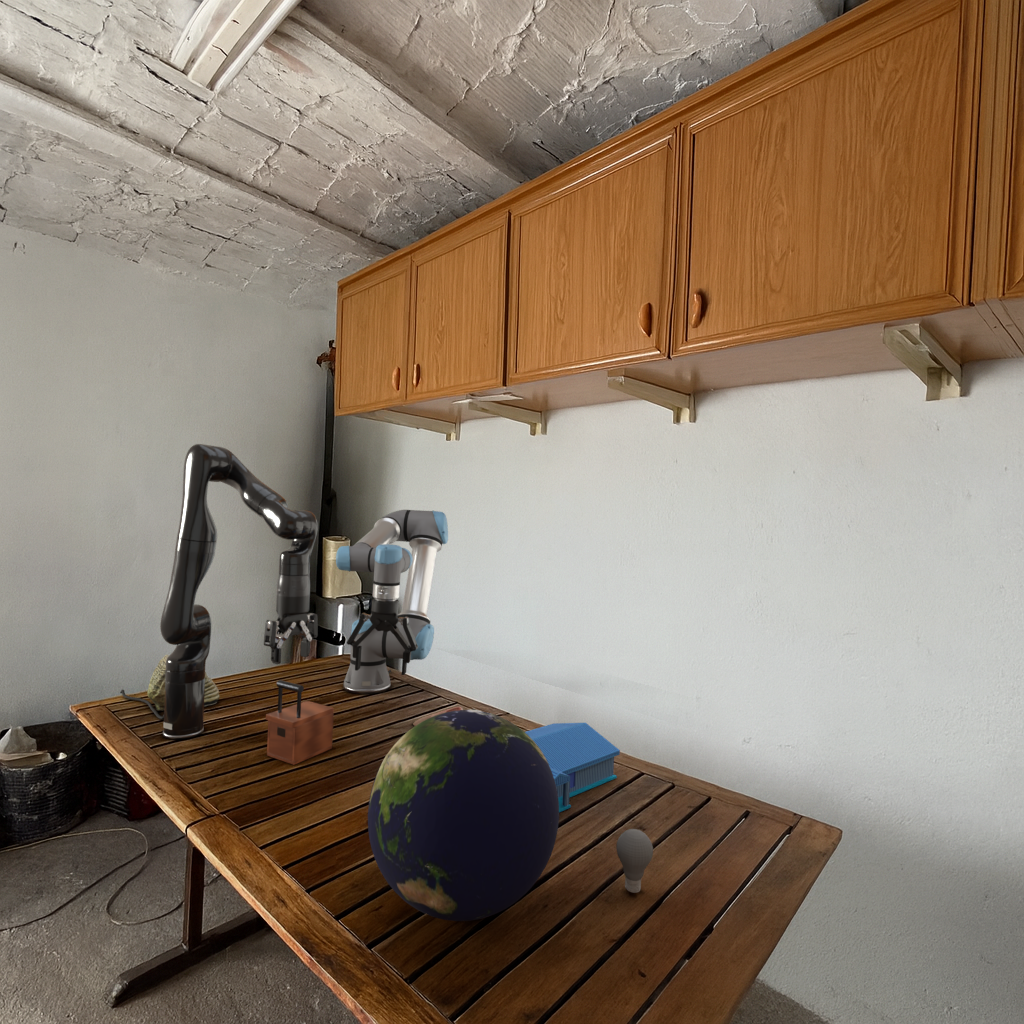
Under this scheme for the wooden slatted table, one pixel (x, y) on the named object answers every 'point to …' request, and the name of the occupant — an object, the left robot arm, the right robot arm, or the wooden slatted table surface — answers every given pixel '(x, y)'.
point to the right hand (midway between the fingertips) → (380, 671)
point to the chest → (300, 740)
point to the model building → (575, 757)
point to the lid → (297, 708)
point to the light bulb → (634, 857)
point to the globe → (463, 815)
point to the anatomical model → (436, 714)
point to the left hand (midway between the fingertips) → (290, 659)
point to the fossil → (158, 687)
